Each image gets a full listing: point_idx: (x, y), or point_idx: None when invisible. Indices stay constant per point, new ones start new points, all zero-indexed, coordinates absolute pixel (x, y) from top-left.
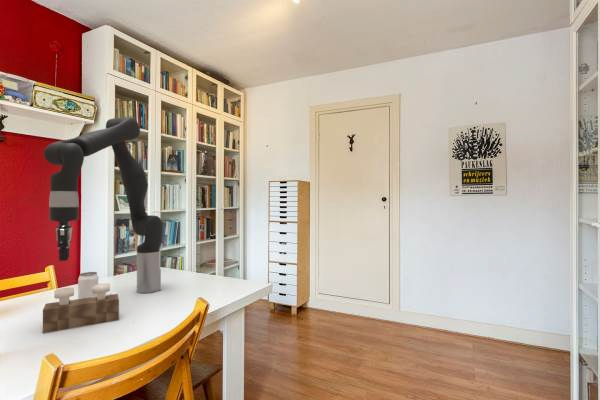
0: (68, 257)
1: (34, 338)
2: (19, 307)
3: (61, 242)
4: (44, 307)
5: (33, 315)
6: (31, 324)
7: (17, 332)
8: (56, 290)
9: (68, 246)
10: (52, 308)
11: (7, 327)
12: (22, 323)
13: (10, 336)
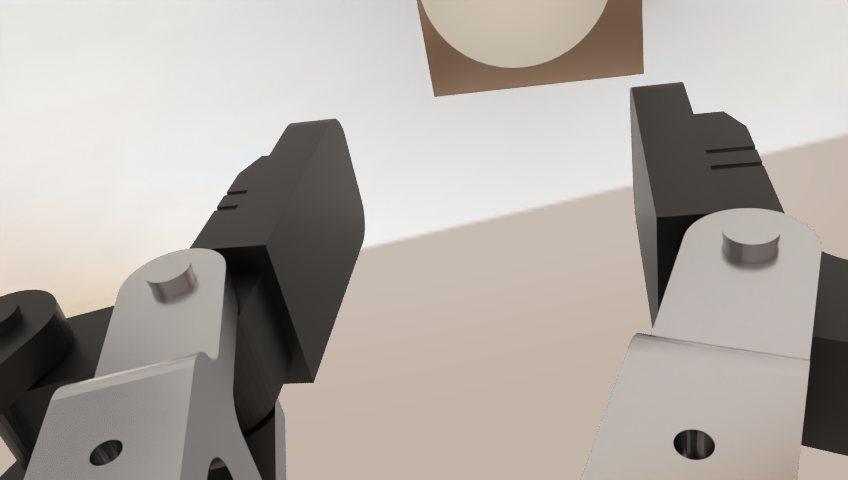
0: (336, 121)
1: (711, 30)
2: (16, 269)
3: (274, 463)
4: (563, 78)
5: (198, 157)
6: (391, 122)
7: (523, 159)
8: (508, 52)
9: (781, 232)
10: (637, 4)
11: (397, 232)
12: None
13: (582, 175)
